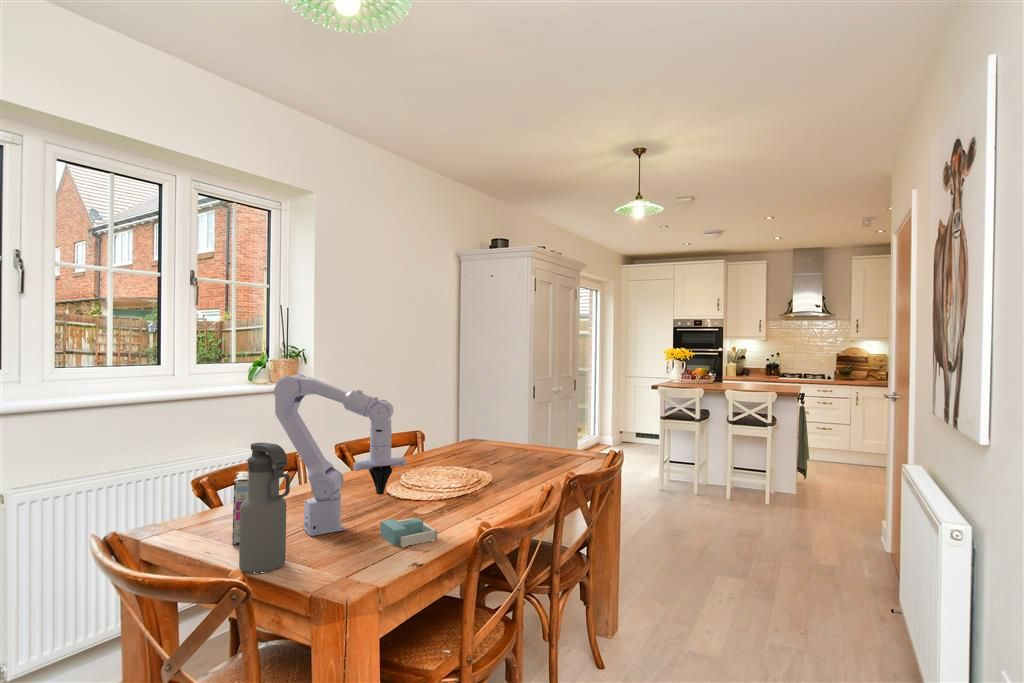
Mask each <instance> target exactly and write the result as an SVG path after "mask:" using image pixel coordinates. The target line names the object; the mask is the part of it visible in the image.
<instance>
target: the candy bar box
mask: <svg viewBox="0 0 1024 683" xmlns="http://www.w3.org/2000/svg"><path fill="white" fill-rule="evenodd" d="M247 498H248V472H247V471H244V470H243V471H238V472H237V475H235V478H234V480H233V506H232V508H233V509H232V511H233V513H232V543H231V545H234V546H235V544H236V545H240V506H241V504H242V502H243V501H244V500H246V499H247Z"/></svg>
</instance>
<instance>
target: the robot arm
mask: <svg viewBox="0 0 1024 683" xmlns="http://www.w3.org/2000/svg"><path fill="white" fill-rule="evenodd" d="M272 392H273V394H274V395H273V396H274V403H275V404H274V409H275V410H274V413H275V415H276V418H277V420H278V421H279V423H280V425H281V426H282V428H283V429H284V431H285V434H287V436H288V438H289V440H290V442H291V444H292V445H293V447H294V448H295V450H296V451H297V454H298V456H299V457H300V458H301V460H302V462H303V464H304V465H305V468H306V469H307V479H308V481H309V483H310V489H311V490H310V491H311V494H312V495H313V497H312V498H309V499H306V500H305V501H304V503H303V504H304V505H303V527H302V528H303V529H304V531H305V532H306V533H307V534H308V535H309V537H314V536H319V535H324V534H325V535H326V534H329V533H336V532H341V531H346V530H347V528H346V527H345V526H344V525H342V523H341V522H342V519H341V518H342V516H341V515H342V493H341V491H340V489H341V487H342V486H343V485H344V475H343V474H342V473H341V471H340V470H338V469H336V468H335V467H334V465H333V464H332V463H331V462H330V461H329V460H327V459H326V458H325V456H324V454H323V452H322V451H321V449H320V447H319V446H318V444H317V442H316V440H315V439H314V437H313V436H312V434H311V432H310V431H309V428H308V426H306V423H305V421H304V420H303V418H302V417H301V414H300V413H299V411H298V410H299V408H300V405H301V402H302V401H303V399H304V398H305V396H307V395H317V396H320V397H324V398H326V399H329V400H332V401H335V402H338V403H341V404H342V405H343V407H344V409H345V410H346V411H348V412H352V413H353V414H357V415H360V416H363V417H365V418H368V420H370V430H369V431H370V432H369V437H370V438H369V445H370V446H369V459H368V460H363V461H358V462H357V461H356V462H353V471H355V472H360V471H363V470H368V472H369V474H370V476H371V477H372V480H373V484H374V486H375V493H376V495H379V496H381V495H385V490H386V486H387V483H388V480H389V478H390V477H391V474H392V473H393V468H392V467H397V466H406V465H407V458H406V457H392V435H393V434H392V417H393V415H394V406H393V405H392V403H391V402H389V401H388V400H386V399H380V400H379V397H378V396H374V397H373V396H371V395H369V394H368V395H367V394H365V393H363V392H364V391H363V390H361V389H357V390H356V389H355V390H354V389H352V390H350V391H345V390H342V389H340V388H338V387H336V386H333V385H331V384H329V383H327V382H324V381H322V380H320V379H317V378H315V377H312V376H306V375H304V374H298V373H297V374H293V375H284V376H282V377H281V378H279V379H278V380H277V382H276V383H275V387H274V388H273V391H272Z"/></svg>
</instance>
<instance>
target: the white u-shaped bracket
mask: <svg viewBox="0 0 1024 683" xmlns="http://www.w3.org/2000/svg"><path fill="white" fill-rule="evenodd" d="M415 518H416V517H412V518H406V519H402V520H396V521H397V522H398V521H404V520H409V519H415ZM432 540H436V541H438V530H437V529H435V528H433V527H432V526H430V525H429V524H427V523H426V522H424V521H423V533H418V534H413V535H408V536H403V537H401V543H400V545H399V546H401V547H403V548H405V547H404V546H408V545H412V546H414V545H413V544H417V543H422V542H427V541H431V542H433V541H432ZM427 543H428V542H427ZM422 544H423V543H422ZM417 545H418V544H417ZM401 547H400V548H401ZM408 547H409V546H408Z"/></svg>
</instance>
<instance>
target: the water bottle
mask: <svg viewBox="0 0 1024 683" xmlns="http://www.w3.org/2000/svg"><path fill="white" fill-rule="evenodd" d="M250 450H251V456H250V457H249V458H247V472H248V498H247V499H246V500H244V501H243V502H242V504H241V506H240V544H238V545H239V548H238V550H239V551H238V552H239V555H238V559H239V561H238V562H239V563H238V566H239V569H240V571H242V570H243V571H245V572H244V573H246V572H247V573H246V574H251V573H254V572H255V573H259V574H262V573H261V572H266V573H269V572H268V571H270V572H273V571H272V570H274V571H275V569H276V570H278V569H280V568H281V567H282V566H284V564H285V562H286V557H287V556H286V551H287V550H286V548H287V546H286V545H287V542H286V541H287V501H286V499H285V497H287V496H288V495H289V493H290V492H291V491H290V490H291V476H290V474H288V473H285V467H287V466H288V456H287V454H286V452H285V450H284V448H282V446H280V445H279V444H276V443H270V442H269V443H268V442H253V443H251V444H250ZM282 478H285V491H284V492H283V493H282V494H280V479H282ZM243 571H242V572H243Z"/></svg>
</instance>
